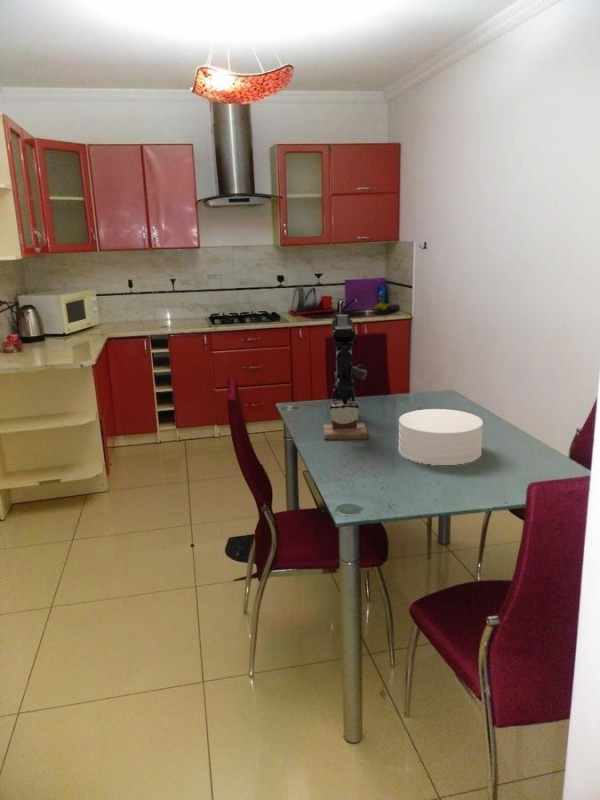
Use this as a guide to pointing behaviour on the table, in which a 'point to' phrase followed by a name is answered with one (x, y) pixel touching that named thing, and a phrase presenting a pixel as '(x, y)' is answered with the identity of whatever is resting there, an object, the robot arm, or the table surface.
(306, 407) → the table surface
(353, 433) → the walnut block
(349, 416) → the food container
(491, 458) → the table surface
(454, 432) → the plate stack
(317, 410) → the table surface
